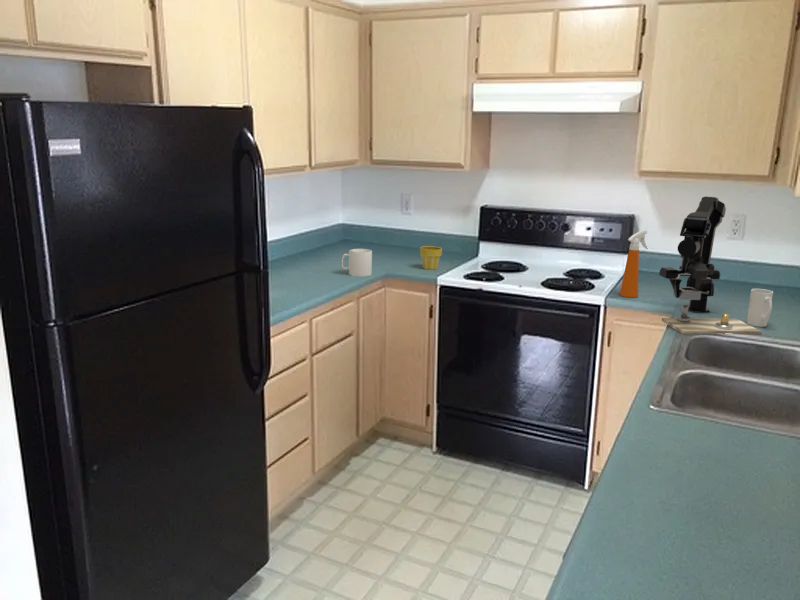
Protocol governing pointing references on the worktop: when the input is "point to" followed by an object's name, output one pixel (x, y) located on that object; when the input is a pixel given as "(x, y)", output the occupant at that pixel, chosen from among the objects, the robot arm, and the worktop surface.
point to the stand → (684, 314)
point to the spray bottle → (632, 266)
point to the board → (709, 326)
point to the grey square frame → (689, 293)
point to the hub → (724, 323)
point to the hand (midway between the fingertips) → (686, 297)
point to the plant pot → (430, 256)
